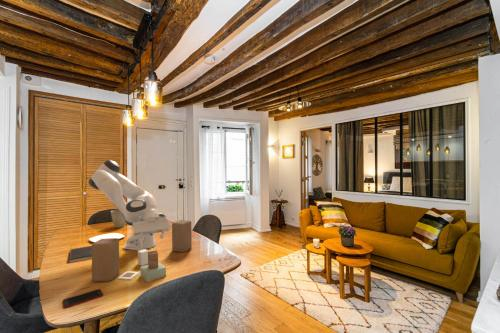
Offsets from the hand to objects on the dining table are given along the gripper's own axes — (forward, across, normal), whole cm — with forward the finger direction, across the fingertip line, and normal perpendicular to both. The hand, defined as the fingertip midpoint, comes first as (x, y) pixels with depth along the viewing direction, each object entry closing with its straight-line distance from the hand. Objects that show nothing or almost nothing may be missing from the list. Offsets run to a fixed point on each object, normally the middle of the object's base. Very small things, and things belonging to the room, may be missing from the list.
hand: (153, 239), depth 140 cm
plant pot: (-70, -17, +96) cm, 120 cm away
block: (-5, +22, +31) cm, 38 cm away
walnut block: (+14, -1, +4) cm, 15 cm away
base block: (+18, -1, +8) cm, 20 cm away
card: (+14, -13, +11) cm, 22 cm away
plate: (-43, -26, +69) cm, 85 cm away
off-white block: (+4, -5, +21) cm, 22 cm away
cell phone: (+24, -32, +1) cm, 40 cm away
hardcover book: (-21, -38, +47) cm, 65 cm away
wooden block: (+11, -24, +14) cm, 30 cm away
